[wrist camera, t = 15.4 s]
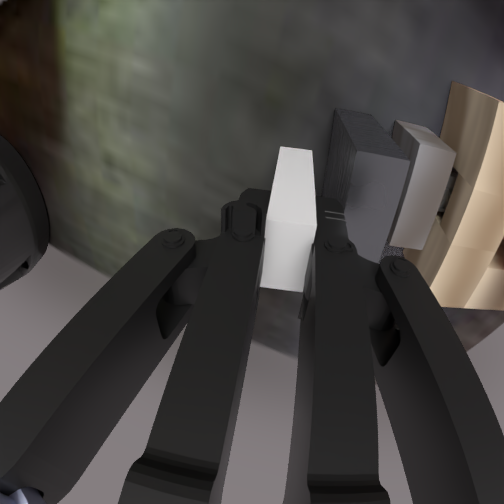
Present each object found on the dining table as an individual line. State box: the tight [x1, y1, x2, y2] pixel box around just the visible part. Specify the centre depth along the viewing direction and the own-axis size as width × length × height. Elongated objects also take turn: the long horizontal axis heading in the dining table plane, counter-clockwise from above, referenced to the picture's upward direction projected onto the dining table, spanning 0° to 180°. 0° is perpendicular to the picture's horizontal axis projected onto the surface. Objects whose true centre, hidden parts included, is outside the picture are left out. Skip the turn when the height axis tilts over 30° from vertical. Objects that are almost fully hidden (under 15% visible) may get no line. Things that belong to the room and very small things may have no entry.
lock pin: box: [321, 108, 458, 263], centre depth 14 cm, size 8×6×7 cm, turn 87°
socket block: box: [387, 81, 504, 310], centre depth 14 cm, size 15×12×5 cm
